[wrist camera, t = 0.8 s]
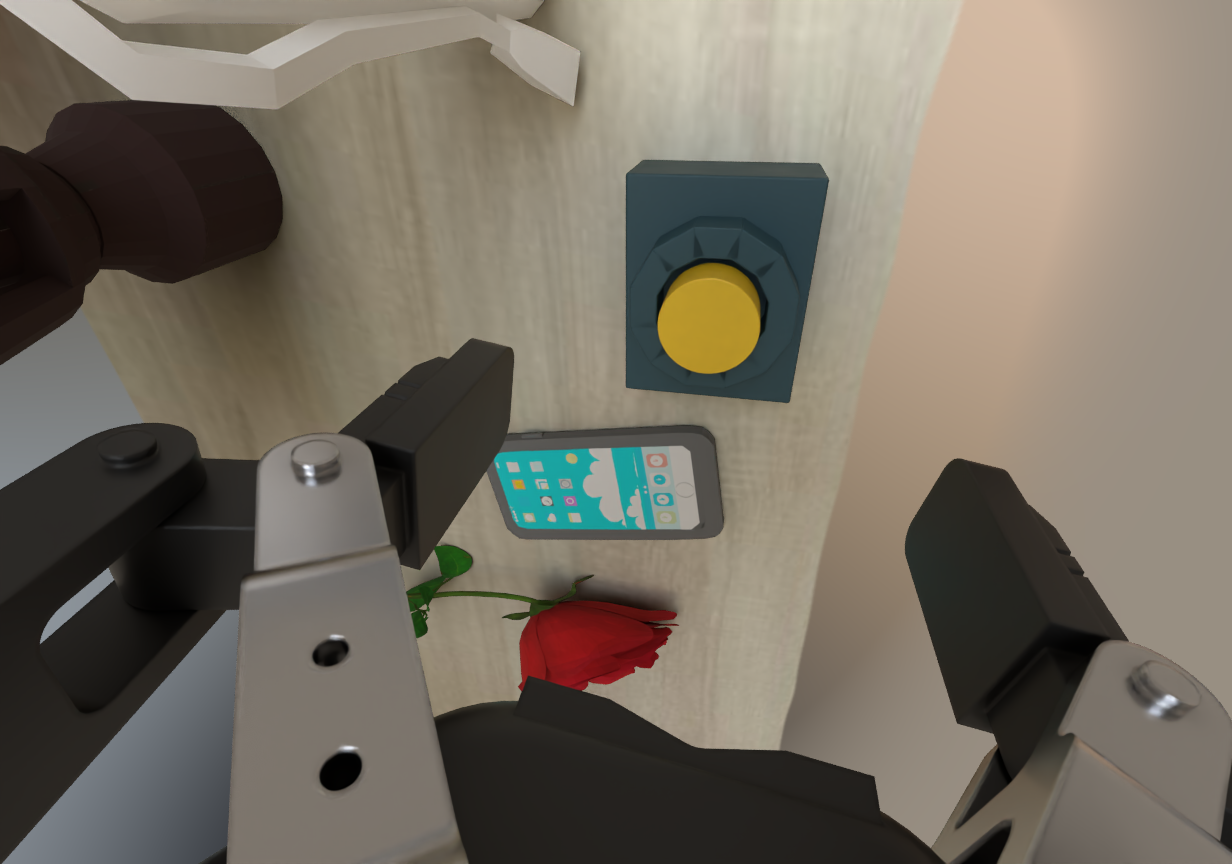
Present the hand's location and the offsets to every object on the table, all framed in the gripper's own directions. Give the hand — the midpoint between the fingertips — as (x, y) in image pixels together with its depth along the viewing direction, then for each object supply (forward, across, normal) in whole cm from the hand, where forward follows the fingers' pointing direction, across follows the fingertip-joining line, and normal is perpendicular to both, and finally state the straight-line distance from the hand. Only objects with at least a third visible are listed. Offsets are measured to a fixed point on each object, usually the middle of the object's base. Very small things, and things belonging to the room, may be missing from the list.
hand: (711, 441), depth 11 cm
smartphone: (+20, +4, +18) cm, 27 cm away
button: (+15, 0, +3) cm, 15 cm away
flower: (+20, +11, +31) cm, 39 cm away
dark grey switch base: (+20, 0, +3) cm, 20 cm away
